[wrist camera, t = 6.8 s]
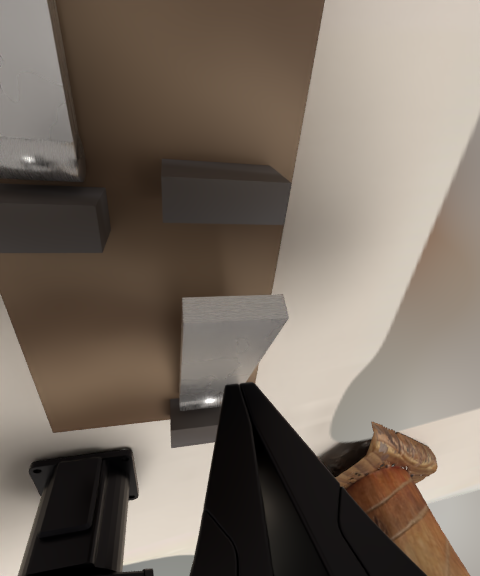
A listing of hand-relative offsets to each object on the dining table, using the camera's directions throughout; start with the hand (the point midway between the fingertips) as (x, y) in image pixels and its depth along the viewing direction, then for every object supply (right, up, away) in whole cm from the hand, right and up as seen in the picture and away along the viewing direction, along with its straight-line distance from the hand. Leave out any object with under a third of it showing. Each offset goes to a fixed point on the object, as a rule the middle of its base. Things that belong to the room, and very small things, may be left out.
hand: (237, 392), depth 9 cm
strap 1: (-1, 0, +5) cm, 5 cm away
